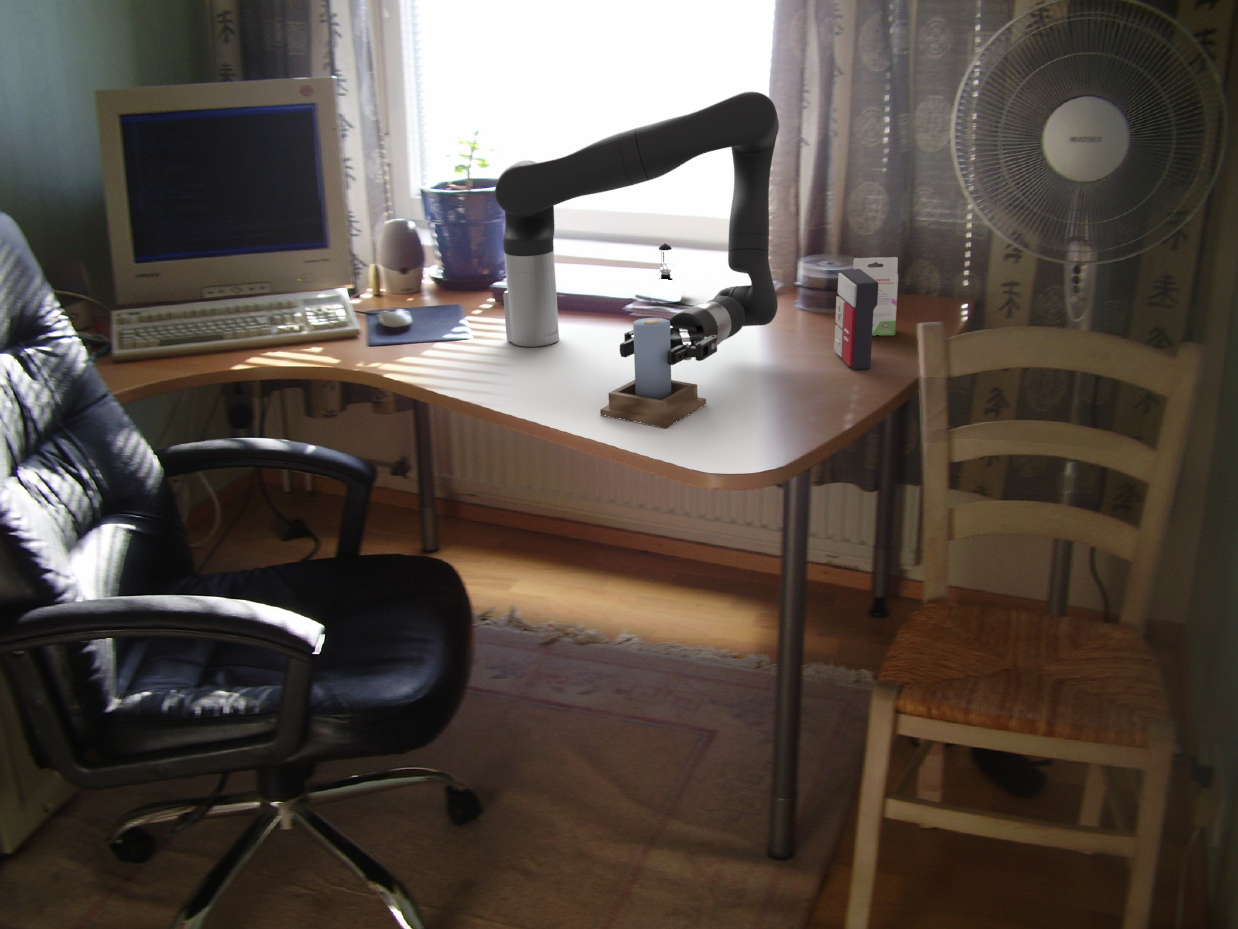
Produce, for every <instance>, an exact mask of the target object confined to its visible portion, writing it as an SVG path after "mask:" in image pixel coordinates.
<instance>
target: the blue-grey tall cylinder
mask: <svg viewBox="0 0 1238 929" xmlns="http://www.w3.org/2000/svg"><path fill="white" fill-rule="evenodd" d="M669 320H670V319H669ZM669 320H668V319H665V318H661V317H646V318H639V319H637V320H634V321H633V324H632V325H633V326H632V327H633V329H632V330H633V332H634V354H633V356H634V360H633V361H634V362H633V363H634V380H635V392H636V396H640V397H646V398H651V399H656V400H663V399H665V398H667V397H668V396H670V395H672V394H671V380H672V365H668V363H667V353H668V351H669V350H671V343H670V321H669Z"/></svg>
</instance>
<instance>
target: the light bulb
mask: <svg viewBox="0 0 1238 929" xmlns="http://www.w3.org/2000/svg"><path fill="white" fill-rule="evenodd" d="M670 250H672V246H670V245H669V244H666V243H664V244H662V245H660V246H659V247H658V251H662V261H663V262H662V263H664V265H665V266H666V269H665V267H664V266H663V265H662V264H660V265H661V267H662V268H663V269H660V270H659V272H660V273H661V274H660V277H659V278H658V280H659V279H660V278H661V279H668V280H673V277H672V278H671V272H672V270H671V269H668V266H667V264H666V263H665V252H664V251H670Z"/></svg>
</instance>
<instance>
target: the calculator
mask: <svg viewBox="0 0 1238 929" xmlns="http://www.w3.org/2000/svg"><path fill="white" fill-rule="evenodd" d="M837 278H838V279H837V294H838V296H837V295H836V297H835V298H836V300H835V323H836V325H834V343H833V344H834V346H833V350H834V351H835V353H836V354H837V355H838V356H839V357H840V358H842V360H843V362H844V363H845V364H846V365H847V366H848V367H850V368H851V369H852V370H853V371H854V370H870V369H871V362H872V344H873V336H872V328H873V311H874V309H875V307H876V306H877V302H878V282H877V281H875V280H874V279H873V278H871V277H870V276H869V275H867V274H866V273H865V272H863V271H862V270H861V269H853V268H851V269H850V268H849V269H840V270H839V272H838V276H837Z"/></svg>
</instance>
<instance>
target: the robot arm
mask: <svg viewBox="0 0 1238 929" xmlns="http://www.w3.org/2000/svg"><path fill="white" fill-rule="evenodd" d="M779 122H780V121H779V118H778V112H777V109H776V106H775V104H774V102H773V100H772V99H771V98H769V96H768V95H766V94H763V93H760V92H758V91H744V92H740V93H738V94H735V95H733V96H731V97H728V98H726V99H723V100H721V101H719V102H717V103H716V102H715V103H714V104H712V105H709V106H707V107H704V108H703V109H699V110H697V111H694V112H690V113H688V114H687V113H686V114H683V115H680V116H676V117H671V118H667V119H664V120H660V121H657V122H654V123H650V124H647V125H642V126H639V127H635V128H632V129H628V130H625V131H622V132H619V133H615V134H613V135H610V136H607V137H605V138H602V139H600V140H598V141H596V142H595V141H594V142H593V143H591V144H589V145H586V146H585V147H583V148H581V149H579V150H577V151H574V152H573V153H570V154H568V155H565V156H562V157H559V158H555V159H550V160H547V161H542V162H541V161H540V162H536V161H533V160H527V159H526V160H521V161H517V162H515V163H513V164H511V165H510V166H509V167H507V168H505V170H504V171H502V173H501V174H500V176H499V177H498V179H497V181H496V185H495V190H494V194H495V199H496V202H497V204H498V206H499V207H500V208H501V210H503V211H504V216H505V219H504V220H505V222H504V223H505V224H504V226H505V227H504V235H503V242H502V243H503V254H504V265H505V266H504V268H505V277H506V278H505V279H506V290H505V291H504V292H503V295H502V297H503V307H504V320H505V334H506V341H507V342H510V343H512V344H513V345H515V346H519V347H526V348H527V347H529V348H532V347H534V348H535V347H544V346H548V345H552V344H555V343H556V342H558V341H559V339H560V331H559V314H558V298H557V297H558V296H557V284H556V282H557V281H556V280H557V279H556V268H555V250H554V235H555V206H556V205H558V204H561V203H564V202H566V201H569V200H572V199H577V198H579V197H583V196H588V195H589V196H590V195H595V194H600V193H603V192H604V193H605V192H610V191H614V190H617V189H622V188H627V187H631V186H634V185H638V184H641V183H645V182H648V181H651V180H654V179H657V178H659V177H662V176H665V175H666V174H668V173H670V172H672V171H674V170H675V169H677V168H679V167H681V166H682V165H684V164H686V163H687V162H689V161H691V160H693V159H694V158H697V157H699V156H701V155H704V154H708V153H710V152H714V151H719V150H722V149H727V148H731V154H732V163H733V174H734V177H733V181H734V182H733V192H732V202H731V208H730V214H729V215H730V216H729V225H728V226H729V228H728V249H727V250H728V254H727V259H728V261H727V262H728V267H729V269H730V270H732V271H734V272H735V273H740V274H747V275H748V276H749V279H750V282H751V283H750V285H749V284H747V285H736V286H729V287H725V288H723V289H721V290H719V291H718V293H717V294H716V295H715V296H714V297H713V298H712V299H709V300H707V301H706V302H702V303H698V304H695V305H693V306H690V307H689V308H686V309H684V310H682V311H680V312H677V313H675V314H674V315H673V316H671V317H670V319H669V321H670V343H671V350H669V351H668V353H667V363H668V365H671V366H674V365H676V364H679V363H680V362H682V361H690V360H692V358H695V361H697V362H701V361H704V360H706V359H707V358H709V357H711V356H712V355H713V354H715V353H717V352H718V346H719V345H720V344H721V343H722V342H723V341H725V340H728V339H729V338H731V337H733V336H735V335H736V334H737V333H739V332H740V330H741V329H742V328H743V327H752V326H754V327H755V326H756V327H757V326H766V325H769V324H770V323H772V321H773V320H774V319H775V317H776V314H777V312H778V308H779V307H778V306H779V305H778V301H779V300H778V296H777V292H776V289H775V285H774V281H773V276H772V271H771V267H770V266H771V265H770V261H769V250H770V249H769V248H770V202H769V200H770V197H769V196H770V195H769V194H770V191H769V190H770V178H771V167H772V161H773V155H774V151H775V146H776V141H777V136H778V133H779V128H780V124H779ZM623 335H624V341H623V342H621V343H620V344H619V354H620V357H622V358H628V357H630V356H632V355H634V332H633V329H632V330H629V331H626V332H625V333H624V334H623Z"/></svg>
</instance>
